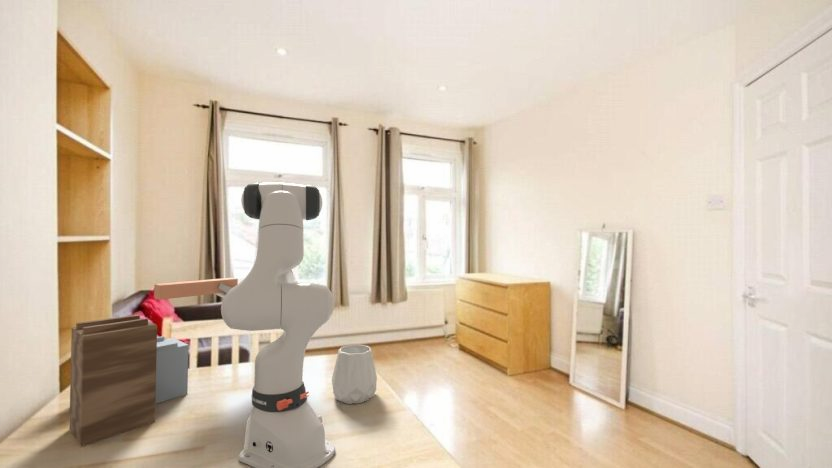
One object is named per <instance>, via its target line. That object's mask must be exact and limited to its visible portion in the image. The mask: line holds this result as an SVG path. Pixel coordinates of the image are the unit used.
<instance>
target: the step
mask: <svg viewBox="0 0 832 468" xmlns="http://www.w3.org/2000/svg"><path fill="white" fill-rule="evenodd" d="M189 347H190V346H189V344H187V343H186V342H183V341H181V340H179V339H177V338H175V337H170V338H166V337H165V336H164V335H163V336H162V335H161V336H157V357H156V401H155V405H156V404H159V403H162V402H165V401H169V400H173V399H175V398H179V397H183V396H186V395H188V389H189V386H188V385H189V382H188V379H189Z"/></svg>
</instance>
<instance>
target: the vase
mask: <svg viewBox="0 0 832 468" xmlns="http://www.w3.org/2000/svg"><path fill="white" fill-rule="evenodd" d="M374 360H375V359H374V356H373V350H372V348H371V347H370V346H369V345H365V344H356V343H355V344H348V345H344V346H341V347H340V348H338V351H337V356H336V360H335V365H334V369H333V373H332V378H331V384H332V391H333V392H332V393H333V395H334V397H335V399H336V400H337V401H338V402H342V403H344V404H346V403H347V405H353V404H352V403H357V404H363V403H364V401H365V402H367V401H368V400H370V399H371V398H373V397H374V395H375V393H376V392H377V380H378V379H377V378H378V377H377V370H376V364H375V361H374ZM369 398H370V399H369ZM366 400H367V401H366ZM362 402H363V403H362Z"/></svg>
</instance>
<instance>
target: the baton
mask: <svg viewBox="0 0 832 468" xmlns="http://www.w3.org/2000/svg"><path fill="white" fill-rule="evenodd" d="M238 281H239V278H235V277H226V278H225V277H224V278H223V277H222V278H211V279H200V280H190V281H189V280H188V281H187V280H186V281H175V282H165V283H163V282H162V283H154V285H153V286H154V288H153V289H154V290H153V298H154V299H156V300H159V301H161V300H170V299H171V300H172V299H179V298H187V297H196V296H197V297H198V296H206V295H216V293H225V292H224V291H222V290H220V289H217V286H218V285H219V284H220V283H221V284H224V285H226V286H229V287H232V288H233V287H235V286H237V285H238V284H239V282H238Z"/></svg>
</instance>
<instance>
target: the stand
mask: <svg viewBox="0 0 832 468" xmlns="http://www.w3.org/2000/svg"><path fill="white" fill-rule="evenodd" d="M75 325H76V326H75V327H71V342H70V343H71V346H70V347H71V348H70V349H71V350H70V381H69V383H70V386H69V387H70V388H69V389H70V390H69V391H70V393H69V426H68V428H69V429H68V430H69V431H70V433H71V434H72V436H73V438H74V439H75V440H76V441H77V443H78V444H79V446H80V447H84V446H87V445H89V444H93V443H96V442H98V441H101V440H105V439H108V438H111V437H114V436H118V435H120V434H123V433H125V432H129V431H132V430H135V429H138V428H141V427H143V426H144V427H145V426H147V425H151V424H152V423H153V424H154V423H155V422H156V404H155V401H156V357H157V337H158V325H157V324H156V323H154V322H152V321H150V320H149V318H143V317H141V315H140V314H133V315H124V316H118V317H111V318H110V317H109V318H103V319H96V320H89V321H82V322H76V323H75Z"/></svg>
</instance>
